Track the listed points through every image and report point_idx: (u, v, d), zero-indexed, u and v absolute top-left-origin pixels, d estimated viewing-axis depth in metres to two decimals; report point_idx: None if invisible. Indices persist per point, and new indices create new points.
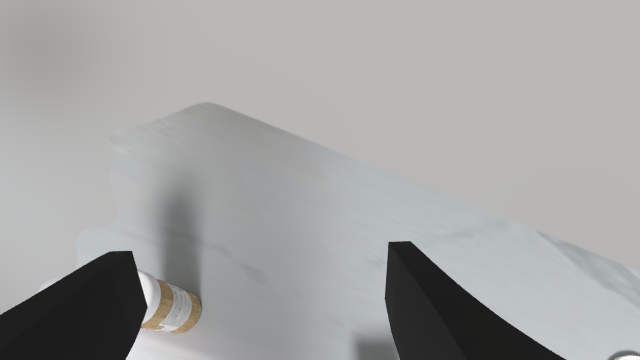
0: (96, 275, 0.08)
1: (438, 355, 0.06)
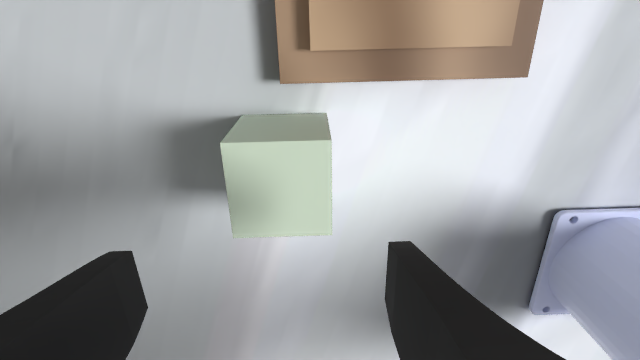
0: (96, 275, 0.08)
1: (438, 355, 0.06)
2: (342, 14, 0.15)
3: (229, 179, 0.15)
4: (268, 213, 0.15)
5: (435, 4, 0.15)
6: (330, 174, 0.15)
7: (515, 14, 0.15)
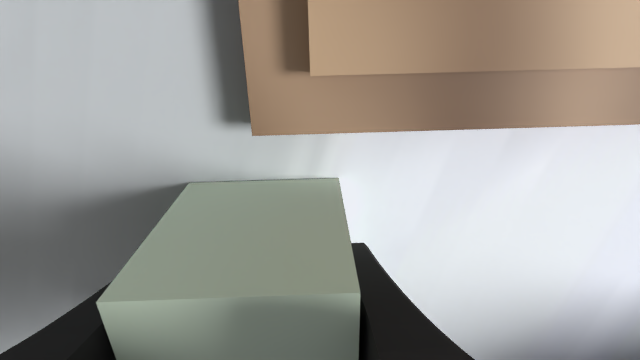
0: None
1: (369, 358, 0.06)
2: None
3: None
4: None
5: None
6: (355, 355, 0.07)
7: None
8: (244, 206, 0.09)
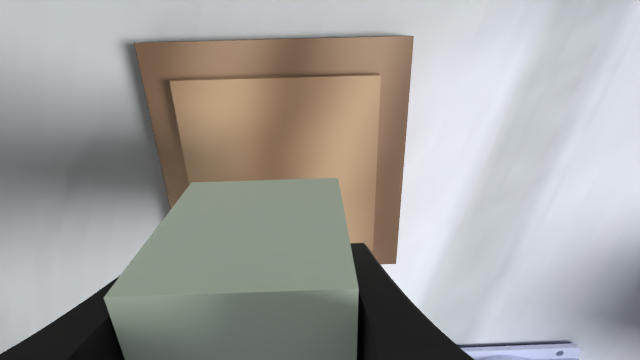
0: None
1: (369, 358, 0.06)
2: None
3: None
4: None
5: None
6: (354, 349, 0.07)
7: (372, 230, 0.18)
8: (245, 205, 0.09)
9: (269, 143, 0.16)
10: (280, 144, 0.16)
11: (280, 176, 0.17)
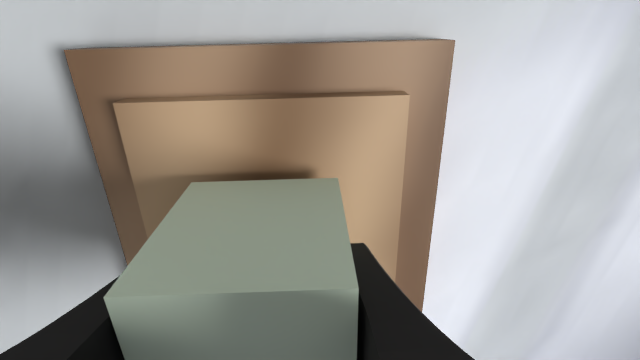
0: None
1: (368, 358, 0.06)
2: None
3: None
4: None
5: None
6: (354, 349, 0.07)
7: None
8: (246, 205, 0.09)
9: None
10: None
11: None
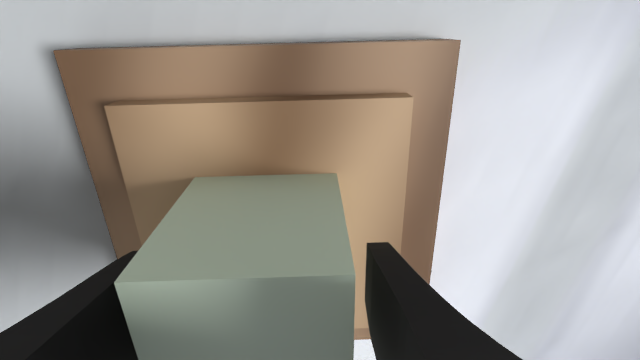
0: None
1: (405, 356, 0.06)
2: None
3: (142, 345, 0.07)
4: None
5: None
6: (351, 334, 0.07)
7: None
8: (247, 198, 0.10)
9: None
10: None
11: None
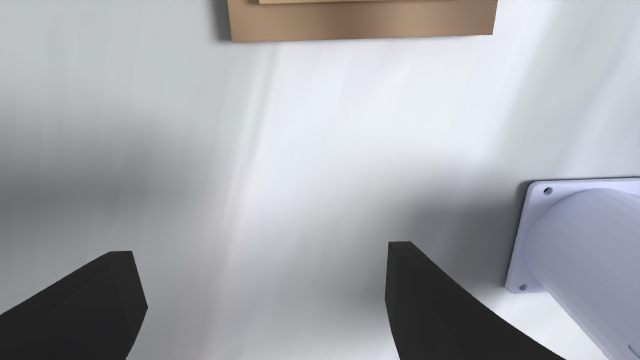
0: (96, 275, 0.08)
1: (438, 355, 0.06)
2: None
3: None
4: None
5: None
6: None
7: None
8: None
9: None
10: None
11: None
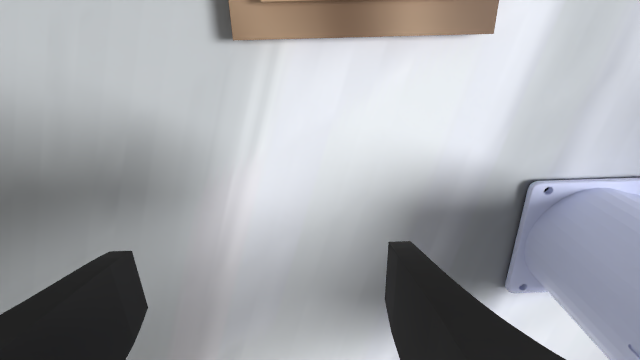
0: (96, 275, 0.08)
1: (438, 355, 0.06)
2: None
3: None
4: None
5: None
6: None
7: None
8: None
9: None
10: None
11: None
